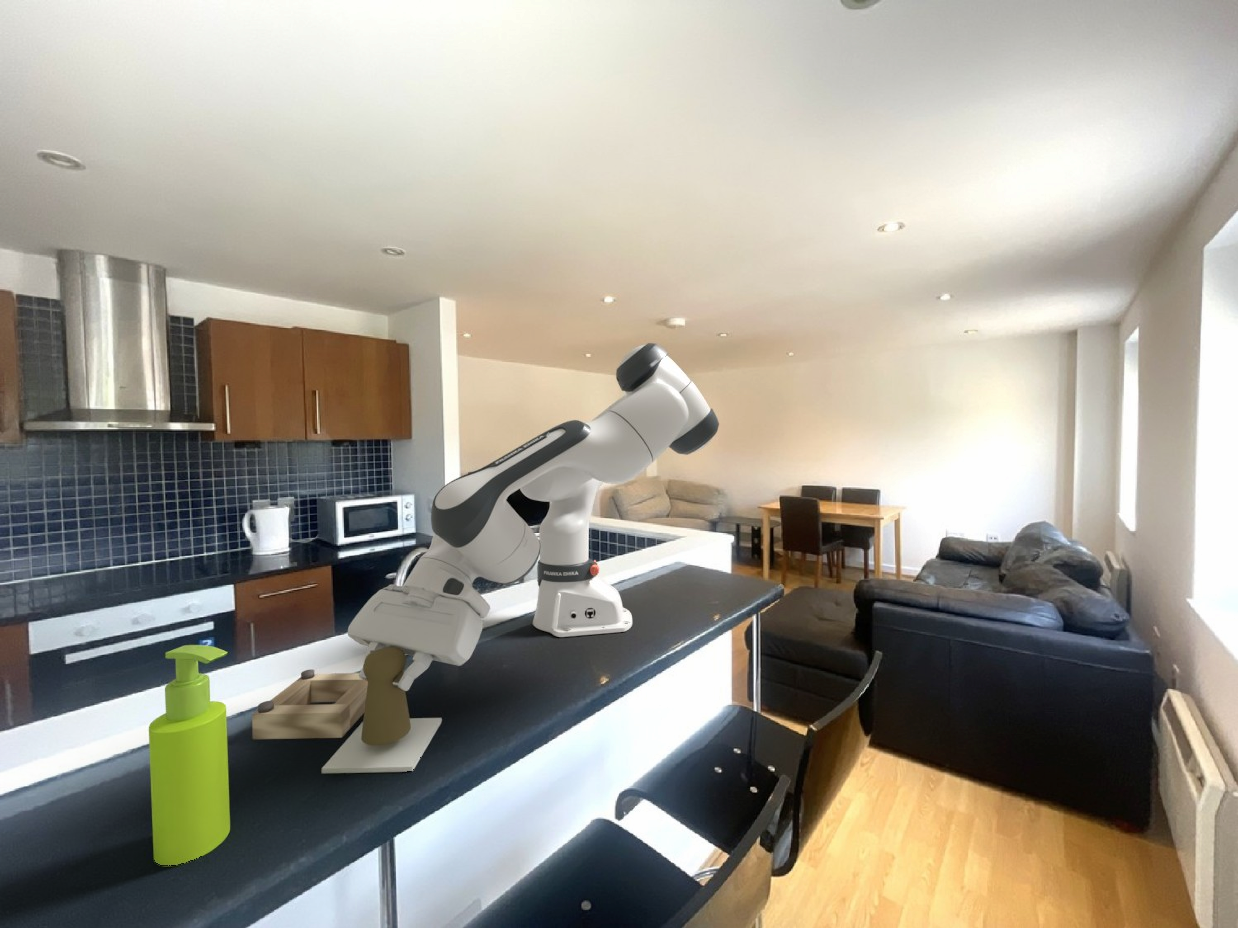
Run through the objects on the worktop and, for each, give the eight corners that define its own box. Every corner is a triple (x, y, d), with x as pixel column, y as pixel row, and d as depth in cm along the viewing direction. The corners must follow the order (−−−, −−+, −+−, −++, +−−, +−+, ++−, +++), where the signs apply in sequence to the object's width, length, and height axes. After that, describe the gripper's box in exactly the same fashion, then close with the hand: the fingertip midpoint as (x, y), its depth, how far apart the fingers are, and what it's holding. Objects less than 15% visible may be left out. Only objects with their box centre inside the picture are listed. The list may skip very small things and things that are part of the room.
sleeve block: (380, 693, 81) (380, 667, 80) (341, 737, 69) (340, 706, 68) (305, 695, 80) (304, 668, 80) (252, 739, 68) (251, 708, 68)
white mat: (441, 721, 72) (441, 717, 72) (412, 771, 61) (412, 766, 61) (365, 723, 72) (364, 719, 72) (321, 773, 61) (321, 768, 61)
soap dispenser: (195, 873, 47) (187, 664, 46) (137, 860, 48) (129, 657, 47) (252, 826, 53) (246, 639, 52) (199, 816, 54) (193, 634, 53)
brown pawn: (350, 744, 64) (349, 659, 63) (377, 718, 70) (376, 641, 69) (396, 746, 63) (394, 661, 63) (419, 720, 69) (417, 642, 69)
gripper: (372, 572, 76) (312, 660, 68) (479, 587, 68) (427, 689, 60) (396, 593, 81) (343, 678, 72) (500, 609, 73) (454, 708, 64)
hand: (382, 684), depth 66 cm, fingers closed on brown pawn, 5 cm apart
